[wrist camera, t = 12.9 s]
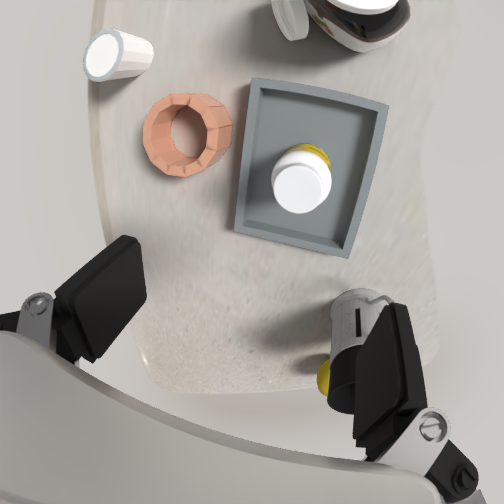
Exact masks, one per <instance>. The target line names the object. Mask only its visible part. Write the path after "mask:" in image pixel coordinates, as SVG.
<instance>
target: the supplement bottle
mask: <svg viewBox="0 0 504 504" xmlns="http://www.w3.org/2000/svg"><path fill="white" fill-rule="evenodd" d="M271 183H272V188H273V191H274V196H275V198H276V200H277V202H278V203H279V204H280V206H281V207H283V208H284V209H285V210H287V211H289V212H292V213H297V214H301V213H307V212H309V211H311V210H313V209H314V208H316V207H317V206H318V205H319V204H321V203H322V202H323V201H324V200H325V199H326V198H327V196H328V194H329V192H330V189H331V184H332V176H331V163H330V159H329V157H328V155H327V154H326V152H325V151H324V150H323V149H322V148H320V147H319V146H317V145H314V144H311V143H301V144H297V145H295V146H293V147H292V148H290V149H289V150H288V151H287V152H286V153H285V154H284V155H283V156H282V157H281V158H280V159H279V160H278V162H277V163H276V165H275V167H274V169H273V172H272V177H271Z"/></svg>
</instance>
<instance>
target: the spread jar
mask: <svg viewBox="0 0 504 504" xmlns="http://www.w3.org/2000/svg"><path fill="white" fill-rule="evenodd" d="M271 5H272V9H273V13H274V16H275V18H276V21H277V23H278V26H279V28H280V30H281V31H282V33H283V34H284V36H285V37H286V38H287V39H288V40H290V41H294V40H299V39H304V38H306V36H307V35H308V31H309V20H308V14H307V12H308V13H309V14H310V16H311V17H312V18H313V19H314V21H315V22H316V23H317V24H318V25H319V26H320V27H321V28H322V29H323V30H324V31H325V32H326V33H327V34H328V35H329V36H331V37H332V38H333V39H335V40H336V41H338V42H339V43H341V44H342V45H344V46H346V47H347V48H349V49H351V50H354V51H357V52H369V51H372V50H375V49H377V48H379V47H381V46H383V45H385V44H386V43H388V42H389V41H390V40H392V39H393V38H394V37H395V36H396V35H397V34H398V33H399V32H400V31H401V30H402V29H403V28H404V27H405V25H406V24H407V22H408V20H409V18H410V6H409V3H408V1H407V0H271Z"/></svg>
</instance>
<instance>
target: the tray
mask: <svg viewBox="0 0 504 504" xmlns="http://www.w3.org/2000/svg"><path fill="white" fill-rule="evenodd" d="M388 109H389V105H386V104H383V103H380V102H376V101H373V100H369V99H366V98H362V97H359V96H355V95H351V94H347V93H343V92H338V91H334V90H330V89H325V88H320V87H315V86H309V85H304V84H298V83H292V82H285V81H278V80H270V79H261V78H252V80H251V87H250V95H249V103H248V110H247V118H246V126H245V135H244V143H243V151H242V160H241V169H240V177H239V186H238V195H237V205H236V214H235V224H234V232H238V233H243V234H247V235H251V236H255V237H260V238H264V239H268V240H272V241H276V242H281V243H285V244H289V245H293V246H297V247H301V248H305V249H310V250H314V251H318V252H322V253H326V254H330V255H334V256H338V257H342V258H346V259H348V258H349V255H350V252H351V249H352V246H353V243H354V240H355V237H356V234H357V231H358V228H359V224H360V221H361V218H362V215H363V211H364V208H365V204H366V201H367V198H368V194H369V190H370V187H371V183H372V179H373V175H374V172H375V168H376V164H377V160H378V155H379V151H380V147H381V143H382V138H383V134H384V129H385V124H386V119H387V114H388ZM301 143H311V144H314V145H317V146H319V147H320V148H322V149H323V150H324V151H325V152H326V154H327V155H328V157H329V159H330V163H331V176H332V184H331V189H330V192H329V194H328V196H327V198H326V199H325V200H324V201H323V202H322V203H321V204H319V205H318V206H317V207H316V208H314V209H313V210H311V211H309V212H307V213H301V214H297V213H292V212H289V211H287V210H285V209H284V208H283V207H281V206H280V204H279V203H278V202H277V200H276V198H275V196H274V191H273V188H272V183H271V177H272V172H273V169H274V167H275V165H276V163H277V162H278V160H279V159H280V158H281V157H282V156H283V155H284V154H285V153H286V152H287V151H288V150H289V149H290V148H292V147H293V146H295V145H297V144H301Z"/></svg>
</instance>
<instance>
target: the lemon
mask: <svg viewBox="0 0 504 504" xmlns="http://www.w3.org/2000/svg"><path fill="white" fill-rule="evenodd" d="M329 363H330V359H328V360H326V361H325V362H324V363H322V365H321V366H320V368H319V370H318V373H317V385H318V389H319V390H320V392H321V393H322V394H323V395H325V396H327V397H328V388H329V379H330V370H329Z"/></svg>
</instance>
